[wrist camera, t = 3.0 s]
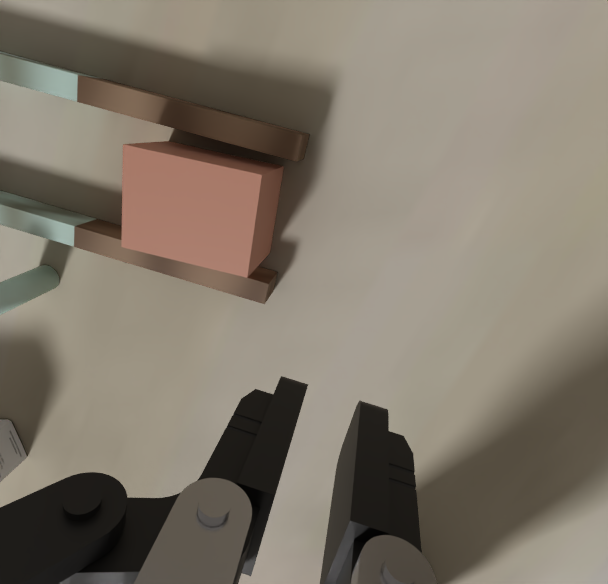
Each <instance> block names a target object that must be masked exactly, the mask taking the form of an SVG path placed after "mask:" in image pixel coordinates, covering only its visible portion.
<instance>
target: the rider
mask: <svg viewBox="0 0 608 584" xmlns="http://www.w3.org/2000/svg"><path fill="white" fill-rule="evenodd" d="M283 170H284V166H281V165H276V164H271V163H267V162H262V161H258V160H253V159H248V158H244V157H239V156H234V155H230V154H225V153H221V152H216V151H211V150H207V149H202V148H197V147H193V146H188V145H184V144H179V143H174V142H170V141H165V142H151V143H136V144H123V181H122V241H121V247H123V248H127V249H131V250H136V251H140V252H144V253H148V254H152V255H156V256H160V257H164V258H168V259H172V260H176V261H181V262H185V263H189V264H193V265H197V266H201V267H205V268H209V269H213V270H217V271H221V272H226V273H230V274H234V275H238V276H242V277H246V278H247V277H248V276H249V275H250V274H251V273H252V272H253V271H254V270H255V269H256V268H257V267H258V265H259V264H260V263H261V262H262V261H263V260H264V259H265V258H266V257H267V256H268V255H269V253H270V250H271V244H272V238H273V232H274V225H275V219H276V213H277V207H278V201H279V194H280V188H281V182H282V176H283Z"/></svg>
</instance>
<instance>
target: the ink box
mask: <svg viewBox="0 0 608 584" xmlns="http://www.w3.org/2000/svg"><path fill="white" fill-rule="evenodd" d="M26 458H27V455H26V453H25V451H24V448H23V446H22V444H21V441H20V439H19V437H18V435H17V433H16V430H15V428H14V426H13V424H12V422H11V421H10V420H8V419H0V482H1V481H2V480H3V479H4V478H5V477H6V476H7V475H8V474H9V473H11V472H12V471H13V470H14V469H15V468H16V467H17V466H18V465H19V464H20V463H21V462H22V461H24V460H25V459H26Z"/></svg>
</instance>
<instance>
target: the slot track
mask: <svg viewBox="0 0 608 584" xmlns="http://www.w3.org/2000/svg"><path fill="white" fill-rule="evenodd" d="M0 81H4V82H7V83H11V84H15V85H18V86H22V87H26V88H29V89H33V90H36V91H40V92H44V93H47V94H51V95H55V96H58V97H62V98H66V99H69V100H73V101H77V102H80V103H84V104H88V105H91V106H95V107H99V108H102V109H106V110H109V111H113V112H117V113H120V114H124V115H128V116H131V117H135V118H139V119H142V120H146V121H150V122H153V123H157V124H161V125H164V126H168V127H171V128H175V129H179V130H182V131H186V132H190V133H193V134H197V135H201V136H204V137H208V138H212V139H215V140H219V141H223V142H226V143H230V144H233V145H237V146H241V147H244V148H248V149H252V150H255V151H259V152H263V153H266V154H270V155H274V156H277V157H281V158H285V159H288V160H292V161H295V162H297V161H300V160H302V159H304V156H305V152H306V148H307V143H308V139H309V135H310V134H306V133H302V132H299V131H295V130H291V129H288V128H284V127H280V126H276V125H273V124H269V123H265V122H261V121H258V120H254V119H250V118H247V117H243V116H239V115H235V114H232V113H228V112H224V111H221V110H217V109H213V108H209V107H206V106H202V105H198V104H194V103H191V102H187V101H183V100H180V99H176V98H172V97H168V96H165V95H161V94H157V93H154V92H150V91H146V90H142V89H139V88H135V87H131V86H128V85H124V84H120V83H116V82H113V81H109V80H105V79H101V78H98V77H94V76H90V75H87V74H83V73H79V72H75V71H72V70H68V69H64V68H61V67H57V66H53V65H49V64H46V63H42V62H38V61H34V60H31V59H27V58H23V57H20V56H16V55H12V54H8V53H5V52H1V51H0ZM0 225H4V226H7V227H10V228H13V229H17V230H20V231H23V232H27V233H30V234H33V235H37V236H40V237H43V238H47V239H50V240H53V241H57V242H60V243H63V244H67V245H70V246H73V247H77V248H80V249H83V250H87V251H90V252H93V253H96V254H100V255H103V256H106V257H110V258H113V259H116V260H120V261H123V262H126V263H130V264H133V265H136V266H140V267H143V268H146V269H150V270H153V271H156V272H160V273H163V274H166V275H170V276H173V277H176V278H180V279H183V280H186V281H189V282H193V283H196V284H199V285H203V286H206V287H209V288H213V289H216V290H219V291H223V292H226V293H229V294H233V295H236V296H239V297H243V298H246V299H249V300H253V301H256V302H259V303H263V304H265V302H266V301H267V300H268V298H269V297H270V295H271V294H272V292H273V290H274V286H275V282H276V277H277V273H278V272H276V271H272V270H269V269H265V268H262V267H259V266H258V267H257V268H256V269H255V270H254V271H253V272H252V273H251V274H250V275H249V276H248V277H247V278H246V277H242V276H238V275H234V274H230V273H226V272H221V271H217V270H213V269H209V268H205V267H201V266H197V265H193V264H189V263H185V262H181V261H176V260H172V259H168V258H164V257H160V256H156V255H152V254H148V253H144V252H140V251H136V250H131V249H127V248H123V247H121V241H122V226H120V225H116V224H113V223H109V222H106V221H103V220H99V219H96V218H92V217H89V216H86V215H82V214H79V213H75V212H72V211H69V210H65V209H62V208H58V207H55V206H52V205H48V204H45V203H42V202H38V201H35V200H31V199H28V198H25V197H21V196H18V195H14V194H11V193H8V192H4V191H1V190H0Z"/></svg>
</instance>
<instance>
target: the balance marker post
mask: <svg viewBox="0 0 608 584" xmlns="http://www.w3.org/2000/svg"><path fill="white" fill-rule="evenodd" d="M58 285H59V276H58V274H57V272H56V271H55V270H54V269H53V268H52V267H50V266H47V265H42V266H39V267H37V268H34V269H32V270H30V271H27V272H25V273H22V274H20V275H17V276H15V277H12V278H10V279H8V280H5V281H3V282H0V315H1V314H3V313H5V312H7V311H9V310H11V309H13V308H15V307H17V306H19V305H21V304H24V303H26V302H28V301H30V300H32V299H34V298H36V297H38V296H40V295H42V294H44V293H46V292H48V291H50V290H52V289H54V288H56V287H57V286H58Z"/></svg>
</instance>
